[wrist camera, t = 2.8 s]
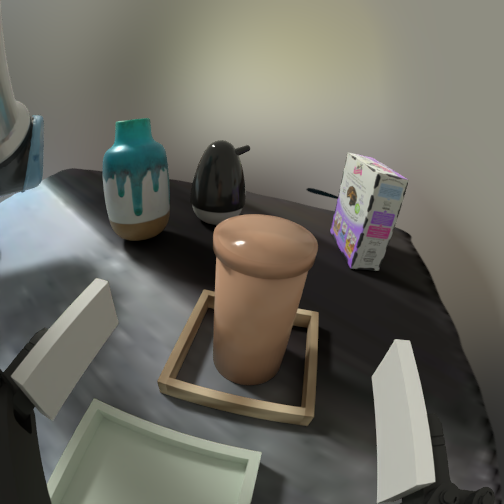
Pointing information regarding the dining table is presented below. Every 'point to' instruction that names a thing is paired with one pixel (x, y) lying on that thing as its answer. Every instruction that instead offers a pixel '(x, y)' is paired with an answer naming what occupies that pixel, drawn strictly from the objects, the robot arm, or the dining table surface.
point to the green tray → (148, 465)
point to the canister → (257, 293)
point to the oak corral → (235, 402)
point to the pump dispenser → (219, 183)
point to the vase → (136, 182)
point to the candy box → (367, 211)
